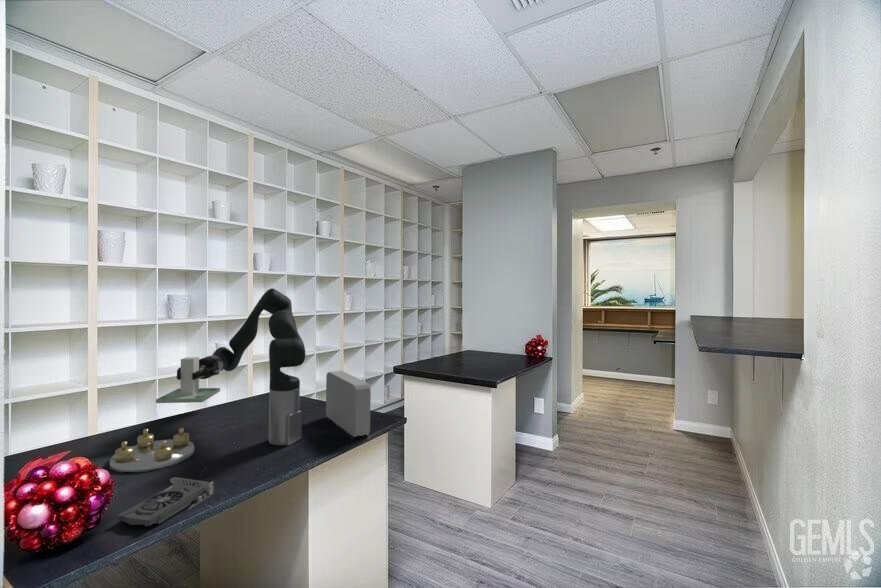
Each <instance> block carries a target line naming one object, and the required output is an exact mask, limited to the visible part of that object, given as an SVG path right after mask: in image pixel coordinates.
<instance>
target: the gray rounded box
mask: <svg viewBox="0 0 881 588" xmlns="http://www.w3.org/2000/svg"><path fill="white" fill-rule="evenodd" d="M325 382H326V383H325V385H326V386H325V387H326V389H325V415H326V418H327V417H328V418H329V419H331V420H332V421H333V422H335V423H336V424H337V425H339V426H340V427H342V428H343V429H344V430H346V431H347V432H348V433H350V434H351V435H352V436H354V437H357V436H362V435H367V436H369V434H370V433H371V432H370V431H371V398H372V397H371V396H372V395H371V394H372V393H371V391H372V390H371V386H370V384H369V383H368V382H366V381H364V380H362V379H360V378H358V377H356V376H354V375H352V374H350V373H347V372H345V371H343V370H336V371H328V372H326V380H325ZM328 418H327V419H328ZM329 419H328V420H329ZM333 422H332V423H333ZM337 425H336V426H337ZM362 437H363V436H362Z"/></svg>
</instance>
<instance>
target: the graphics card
mask: <svg viewBox="0 0 881 588" xmlns="http://www.w3.org/2000/svg"><path fill="white" fill-rule="evenodd" d="M169 483H171V484H172V485H171V484H170V485H169V486H168V487H166V488H165V489H163V490H161V491H159V492H157V493H156V494H154V495H151V496H150V497H148V498H146V499H145V500H143V501H141V502H139V503H137V504H135V505H134V506H131V507H130V508H129V509H126V510H124V511H122V512H120V513H119V514H118V515H117V522H118V523H119V522H124V523H126V524H128V525H131V526H133V525H134V526H136V525H138V526H139V525H140V526H142V525H143V526H144V527H150V526H152V525H153V524H157V525H159V524H161V523H163V522H164V521H167V520H168V519H169V518H171V517H173V516H174V515H176V514H178V513H179V512H181V511H182V510H184V509H185V508H187V507H189V508H188V509H187V511H189V510H190V509H192V508H194V507H195V506H197V505H199V504H200V503H201V502H203V501H205V500H206V499H208V498H210V496H211V495H213V494H214V481H211V482H208V481H205V480H198V479H197V480H196V479H190V478H183V477H172V478H170V479H169ZM192 502H193V503H192Z"/></svg>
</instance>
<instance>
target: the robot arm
mask: <svg viewBox="0 0 881 588" xmlns="http://www.w3.org/2000/svg"><path fill="white" fill-rule="evenodd" d="M292 305H293V303H292V300H291V299H290V298H289V297H288V296H286V295H285V294H283V293H282V292H280V291H279V290H277V289H275V288H269V289H268V290H266V291H265V292H264V293H263V294H262V296H261V297H260V298H259V300H258V302H256V304H255V306H254V307H253V309H252V310H251V312H250V313H249V315H248V317H247V318H246V320H245V321H244V323H242V326H240V328H239V330H238V331H237V332H236V333H235V335H233V337H231V339H230V340H229V341H228V345H229V347H230V348H231V350H232V351H231V350H230V349H229V348H227V347H225V346H221V347H219V348H217V349H216V350H214V352H213V353H212V355H207V356H205V357H204V356H203V358H199V371H197V372H194V373H192V380H195V379H197V378H199V380H206V379H207V380H208V379H209V378H211V377H213V376H217V375H219V374H220V372H222V371H223V370H224V371H226V372H233V371H234V370H235V369H236V368H237V367H238V366H239V364H240V362H241V360H242V357H243V355H244V353H245V351H246V350H247V349H248V347H249V346H250V345H251V344H252V343H253V342H254V341H255V339H256V338H257V334H258V328H259V319H260V315H261V314H262V312H263V311H266V312H267V313H269V314H270V317H269V319H268V330H269V333H270V335H271V336H272V338H273V339H272V340H271V341H270V344H269V348H268V358H269V399H268V400H269V402H268V405H269V406H268V407H269V410H268V411H269V412H268V443H269V444H270V445H272V446H290V445H292V444H294V442H295V443H296V441H297V442H298V440H299V441H301V440H302V438H303V437H302V436H303V435H302V431H303V430H302V429H303V428H302V426H303V423H302V421H303V419H302V418H303V411H302V410H300V398H301V397H300V390H301V389H300V388H301V384H300V382H301V381H300V379H299V377H297V376H293V375H291V374H290V375H289V374H287V373H285V372H283V371H282V370H281V368H291V367H293V368H294V367H300V366H301V365H303V363H305V359H306V347H305V343H304V341H303V339H302V337H301V336H300V334H299V330H298V328H297V325H296V320H295V318H294V314H293V311H292V309H293V308H292V307H293V306H292ZM176 379H177V380H178V381H181V366H180V367H178V368H177V370H176ZM300 439H301V440H300Z"/></svg>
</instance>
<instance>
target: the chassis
mask: <svg viewBox="0 0 881 588" xmlns="http://www.w3.org/2000/svg"><path fill="white" fill-rule="evenodd" d="M184 431H185V430H184V427H181V428H178V433H176V434H175V435H173V436H172V437H173V438H172V439H171V438H170V439H161V440H159V439H158V440H155V439H154V438H155V434H153V433H149V428H144V429H143V431H142V433H143V434H140V435H138V436H137V439H136V442H137V444H136V445H132V446H130V445H129V446H128V441H127V440H126V441H125V440H123V441H122V442H121V447H119V448H117V449H115V451H114V454H113V455H112V456H111V457H110V459H109V468H110V469H111V470H112V471H113V470H115V471H114V472H116V471H117V473H122V472H133V473H132V474H135V473H134V472H137V474H138V473H146V472H152V471H151V470H153V471H157V470H156V469H158V470H162V469H165V467H166V468H168V466H169V467H171V466H174V465H177V464H180V463H182V462H183V461H186V460H187V459H189V458H190V457H192V456H193V455H194V452H195V443H194V442H193V441H190V433H188V432H184Z"/></svg>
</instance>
